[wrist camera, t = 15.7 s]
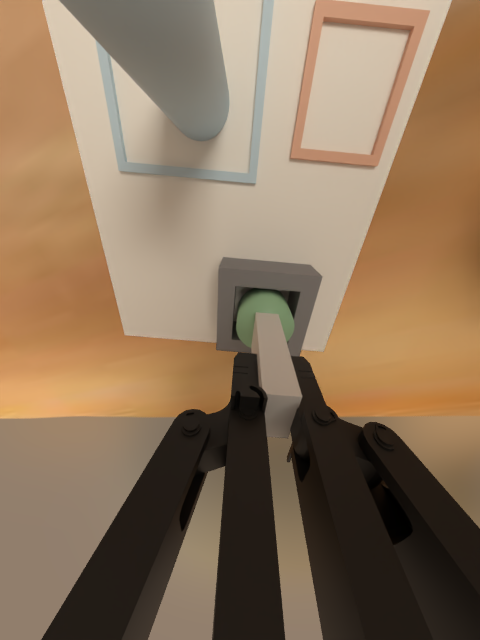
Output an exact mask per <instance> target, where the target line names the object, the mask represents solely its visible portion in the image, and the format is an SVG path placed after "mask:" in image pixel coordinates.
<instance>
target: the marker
mask: <svg viewBox="0 0 480 640" xmlns="http://www.w3.org/2000/svg"><path fill="white" fill-rule="evenodd" d="M59 1H60V2H61V3H62V4H63V5H64V6H65V7H66V8H67V10H68V11H69V12H70V13H71V14H72V15H73V16H74V17H75V18H76V19H77V20H78V21H79V22H80V24H81V25H82V26H83V27H84V28H85V29H86V30H87V31H88V32H89V33H90V34H91V35H92V36H93V37H94V39H95V40H96V41H97V42H98V43H99V44H100V45H101V46H102V47H103V48H104V49H105V50H106V51H107V53H108V54H109V55H110V56H111V57H112V58H113V59H114V60H115V61H116V62H117V63H118V64H119V65H120V66H121V68H122V69H123V70H124V71H125V72H126V73H127V74H128V75H129V76H130V77H131V78H132V79H133V80H134V82H135V83H136V84H137V85H138V86H139V87H140V88H141V89H142V90H143V91H144V92H145V93H146V94H147V95H148V97H149V98H150V99H151V100H152V101H153V102H154V103H155V104H156V105H157V106H158V107H159V108H160V109H161V111H162V112H163V113H164V114H165V115H166V116H167V117H168V118H169V119H170V120H171V121H172V122H173V123H174V124H175V126H176V127H177V128H178V129H179V130H180V131H181V132H182V133H183V134H184V135H185V136H187V137H188V138H190V139H192V140H195V141H207V140H210V139H212V138H214V137H215V136H216V135H217V134H218V133H219V132H220V131H221V130H222V128H223V126H224V125H225V122H226V120H227V117H228V112H229V104H230V100H229V90H228V84H227V77H226V71H225V65H224V59H223V53H222V47H221V41H220V35H219V29H218V23H217V17H216V11H215V5H214V0H59Z"/></svg>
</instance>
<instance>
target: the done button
mask: <svg viewBox="0 0 480 640" xmlns="http://www.w3.org/2000/svg"><path fill="white" fill-rule="evenodd" d="M256 312H259V313H271V314H279V318H280V321H281V325H282V328H283V332H284V335H285V338H286V342H287V341H288V340H289V339H290V338H291V336H292V334H293V332H294V319H293V316H292V314H291V311H290V309H289V306H288V304H287V301H286V299H285V297H284V296H283V294H282V293H281V292H279V291H278V290H275V289H264V288H252V289H250V290H249V291H247V292H246V293H245V294H244V295H243V296H242V298H241V299H240V301H239V304H238V312H237V323H236V331H237V335H238V337H239V339H240V340H241V341H242V342H243V343H244V344H245V345H246V346H248V347H250V348H251V344H252V336H253V329H254V322H255V314H256Z"/></svg>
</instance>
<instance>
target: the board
mask: <svg viewBox="0 0 480 640" xmlns="http://www.w3.org/2000/svg"><path fill="white" fill-rule="evenodd" d="M451 1H452V0H214V5H215V11H216V17H217V23H218V29H219V35H220V41H221V47H222V53H223V59H224V65H225V71H226V77H227V84H228V90H229V100H230V104H229V112H228V117H227V120H226V122H225V125H224V126H223V128H222V130H221V131H220V132H219V133H218V134H217V135H216V136H215V137H214V138H212V139H210V140H207V141H195V140H192V139H190V138H188V137H187V136H185V135H184V134H183V133H182V132H181V131H180V130H179V129H178V128H177V127H176V126H175V124H174V123H173V122H172V121H171V120H170V119H169V118H168V117H167V116H166V115H165V114H164V113H163V112H162V111H161V109H160V108H159V107H158V106H157V105H156V104H155V103H154V102H153V101H152V100H151V99H150V98H149V97H148V95H147V94H146V93H145V92H144V91H143V90H142V89H141V88H140V87H139V86H138V85H137V84H136V83H135V82H134V80H133V79H132V78H131V77H130V76H129V75H128V74H127V73H126V72H125V71H124V70H123V69H122V68H121V66H120V65H119V64H118V63H117V62H116V61H115V60H114V59H113V58H112V57H111V56H110V55H109V54H108V53H107V51H106V50H105V49H104V48H103V47H102V46H101V45H100V44H99V43H98V42H97V41H96V40H95V39H94V37H93V36H92V35H91V34H90V33H89V32H88V31H87V30H86V29H85V28H84V27H83V26H82V25H81V24H80V22H79V21H78V20H77V19H76V18H75V17H74V16H73V15H72V14H71V13H70V12H69V11H68V10H67V8H66V7H65V6H64V5H63V4H62V3H61V2H60V1H59V0H42V3H43V7H44V11H45V15H46V19H47V23H48V27H49V31H50V35H51V39H52V43H53V47H54V51H55V55H56V59H57V64H58V68H59V72H60V76H61V80H62V84H63V88H64V92H65V96H66V100H67V104H68V108H69V112H70V116H71V120H72V124H73V128H74V132H75V136H76V140H77V144H78V148H79V152H80V156H81V160H82V164H83V168H84V172H85V176H86V180H87V184H88V188H89V192H90V197H91V201H92V205H93V209H94V213H95V217H96V221H97V225H98V229H99V233H100V237H101V241H102V245H103V249H104V253H105V257H106V261H107V265H108V269H109V273H110V277H111V281H112V285H113V289H114V293H115V297H116V301H117V305H118V309H119V313H120V317H121V321H122V326H123V330H124V334H125V335H128V336H140V337H152V338H164V339H176V340H188V341H200V342H213V343H217V344H216V350H221V351H233V352H245V353H252V352H251V348H250V347H248V346H246V345H245V344H244V343H243V342H242V341H241V340H240V339H239V337H238V335H237V331H236V323H237V312H238V304H239V301H240V299H241V298H242V296H243V295H244V294H245V293H246V292H247V291H249V290H250V289H252V288H264V289H275V290H278V291H279V292H281V293H282V294H283V296H284V297H285V299H286V301H287V304H288V306H289V309H290V311H291V314H292V316H293V319H294V332H293V334H292V336H291V338H290V339H289V340H288V341H287V345H288V349H289V352H290V356H300V352H301V350H309V351H321V352H324V349H325V346H326V344H327V341H328V338H329V335H330V333H331V330H332V327H333V325H334V322H335V319H336V316H337V314H338V311H339V308H340V305H341V303H342V300H343V297H344V294H345V292H346V289H347V286H348V283H349V281H350V278H351V275H352V272H353V270H354V267H355V264H356V262H357V259H358V256H359V253H360V251H361V248H362V245H363V242H364V240H365V237H366V234H367V231H368V229H369V226H370V223H371V220H372V218H373V215H374V212H375V210H376V207H377V204H378V201H379V199H380V196H381V193H382V190H383V188H384V185H385V182H386V179H387V177H388V174H389V171H390V168H391V166H392V163H393V160H394V157H395V155H396V152H397V149H398V147H399V144H400V141H401V138H402V136H403V133H404V130H405V127H406V125H407V122H408V119H409V116H410V114H411V111H412V108H413V105H414V103H415V100H416V97H417V94H418V92H419V89H420V86H421V84H422V81H423V78H424V75H425V73H426V70H427V67H428V64H429V62H430V59H431V56H432V53H433V51H434V48H435V45H436V42H437V40H438V37H439V34H440V31H441V29H442V26H443V23H444V21H445V18H446V15H447V12H448V10H449V7H450V4H451Z"/></svg>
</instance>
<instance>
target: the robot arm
mask: <svg viewBox="0 0 480 640" xmlns="http://www.w3.org/2000/svg"><path fill="white" fill-rule="evenodd" d="M251 352H252V353H242V352H238V354H237V355H236V356H235V358H234V366H233V378H232V390H231V399H230V402H229V404H228V405H227V406H226V407H225V408H224V409H223V410H221V411H218V412H216V413H212V414H207V415H206V413H204V412H202V411H201V410H196V409H191V410H187V411H184V412H183V413H181V414H179V415H178V416H177V418H176V419H175V420H174V421H173V423H172V425H171V426H170V428H169V430H168V431H167V433H166V435H165V436H164V438H163V440H162V441H161V443H160V445H159V446H158V448H157V449H156V451H155V453H154V455H153V456H152V458H151V459H150V461H149V463H148V464H147V466H146V468H145V470H144V471H143V473H142V475H141V476H140V478H139V480H138V481H137V483H136V484H135V486H134V487H133V489H132V491H131V493H130V494H129V496H128V497H127V499H126V501H125V502H124V504H123V506H122V507H121V509H120V511H119V512H118V514H117V516H116V517H115V519H114V521H113V522H112V524H111V525H110V527H109V529H108V530H107V532H106V534H105V536H104V537H103V539H102V540H101V542H100V544H99V545H98V547H97V549H96V550H95V552H94V554H93V555H92V557H91V558H90V560H89V562H88V563H87V565H86V567H85V568H84V570H83V572H82V573H81V575H80V577H79V578H78V580H77V582H76V584H75V585H74V587H73V588H72V590H71V592H70V593H69V595H68V597H67V598H66V600H65V601H64V603H63V605H62V606H61V608H60V610H59V612H58V613H57V615H56V616H55V618H54V620H53V621H52V623H51V625H50V626H49V628H48V629H47V631H46V633H45V634H44V636H43V638H42V640H148V637H149V634H150V632H151V629H152V626H153V623H154V621H155V618H156V615H157V612H158V609H159V606H160V604H161V601H162V598H163V595H164V593H165V590H166V587H167V584H168V581H169V579H170V576H171V573H172V570H173V568H174V564H175V562H176V559H177V556H178V554H179V550H180V548H181V545H182V543H183V540H184V537H185V534H186V531H187V529H188V526H189V523H190V520H191V517H192V515H193V512H194V509H195V506H196V503H197V501H198V498H199V495H200V492H201V490H202V486H203V484H204V481H205V478H206V476H207V473H208V471H211V470H214V469H217V468H220V467H224V466H225V480H224V492H223V505H222V518H221V531H220V544H219V557H218V570H217V583H216V595H215V609H214V622H213V635H212V640H285V632H284V622H283V610H282V599H281V589H280V577H279V565H278V555H277V544H276V533H275V521H274V510H273V500H272V488H271V477H270V466H269V455H268V444H267V437H277V438H288V437H289V434H290V431H291V436H292V445H291V447H290V450H289V453H288V456H287V462H290V460H291V458H292V463H293V469H294V475H295V481H296V486H297V492H298V497H299V504H300V508H301V515H302V521H303V526H304V532H305V538H306V543H307V549H308V555H309V561H310V566H311V572H312V577H313V584H314V589H315V595H316V601H317V607H318V612H319V618H320V623H321V629H322V635H323V640H480V529H479V527H478V526H477V525H476V524H475V523H474V522H473V520H472V519H471V518H470V517H469V516H468V515H467V514H466V512H465V511H464V510H463V509H462V508H461V507H460V506H459V504H458V503H457V502H456V501H455V500H454V499H453V498H452V496H451V495H450V494H449V493H448V492H447V491H446V490H445V488H444V487H443V486H442V485H441V484H440V483H439V482H438V481H437V479H436V478H435V477H434V476H433V475H432V474H431V472H429V470H428V469H427V468H426V467H425V466H424V464H423V463H422V462H421V461H420V460H419V459H418V458H417V456H416V455H415V454H414V453H413V452H412V451H411V450H410V449H409V447H408V446H407V445H406V444H405V443H404V442H403V441H402V439H401V438H400V437H399V436H397V434H396V433H395V432H394V431H393V430H391V429H390V428H388V427H386V426H385V425H383V424H380V423H377V422H369V423H367V424H365V426H364V427H363V428H362V427H359V426H357V425H354V424H351V423H348V422H346V421H344V420H341V419H340V418H338V416H337V414H336V413H335V412H334V411H333V410H332V409H331V408H330V407H328V406H327V405H326V403H325V401H324V398H323V396H322V393H321V391H320V388H319V386H318V383H317V381H316V379H315V376H314V373H313V371H312V368H311V365H310V363H309V362H308V361H307V360H306V359H305V358H304V357H299V356H290V352H289V349H288V345H287V342H286V338H285V335H284V332H283V328H282V325H281V321H280V318H279V314H271V313H259V312H256V314H255V322H254V329H253V336H252V344H251Z"/></svg>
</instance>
